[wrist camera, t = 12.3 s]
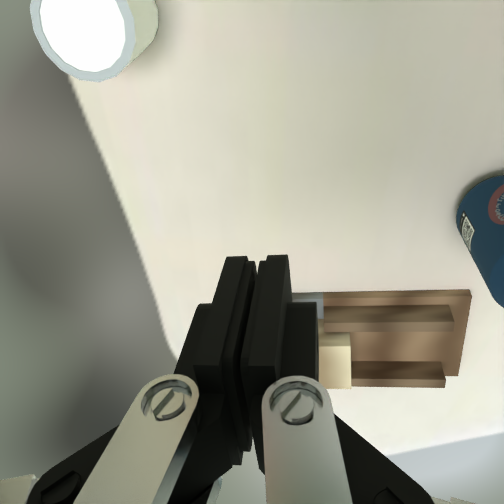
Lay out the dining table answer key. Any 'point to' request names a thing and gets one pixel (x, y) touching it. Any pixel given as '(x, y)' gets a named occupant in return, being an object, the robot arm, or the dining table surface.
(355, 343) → the chute
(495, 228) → the soda can
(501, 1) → the dining table surface
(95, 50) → the shot glass
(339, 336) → the beech block
